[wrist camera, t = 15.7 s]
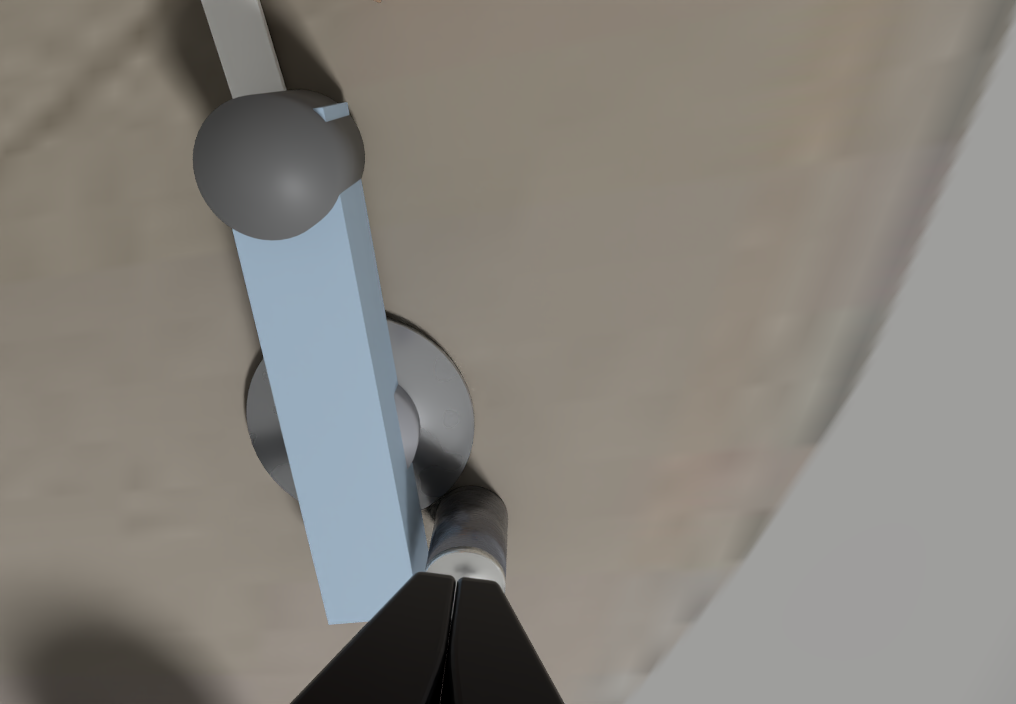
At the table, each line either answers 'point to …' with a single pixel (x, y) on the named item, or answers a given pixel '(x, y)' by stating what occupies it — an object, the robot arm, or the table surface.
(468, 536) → the post
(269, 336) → the crank
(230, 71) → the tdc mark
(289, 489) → the plate
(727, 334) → the table surface
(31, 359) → the table surface
